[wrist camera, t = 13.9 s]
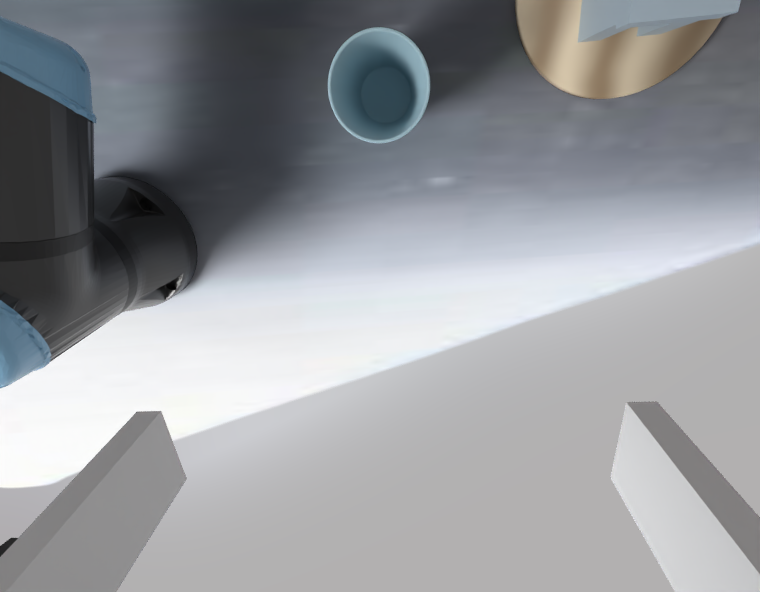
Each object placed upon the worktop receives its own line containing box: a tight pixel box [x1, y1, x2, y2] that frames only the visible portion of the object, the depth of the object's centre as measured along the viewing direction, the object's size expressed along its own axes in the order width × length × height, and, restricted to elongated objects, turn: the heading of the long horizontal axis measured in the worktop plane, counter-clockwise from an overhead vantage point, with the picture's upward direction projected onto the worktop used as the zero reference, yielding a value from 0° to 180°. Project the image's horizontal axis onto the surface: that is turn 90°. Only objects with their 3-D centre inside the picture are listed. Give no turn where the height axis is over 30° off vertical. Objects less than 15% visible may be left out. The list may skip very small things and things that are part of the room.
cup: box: [328, 27, 430, 143], centre depth 34 cm, size 8×8×10 cm
